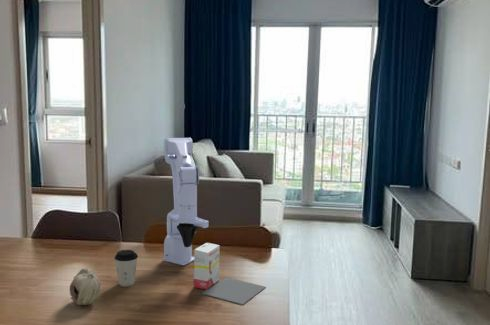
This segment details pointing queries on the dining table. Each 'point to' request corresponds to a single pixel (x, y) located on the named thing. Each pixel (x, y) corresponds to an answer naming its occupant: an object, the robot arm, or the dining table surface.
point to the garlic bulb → (84, 287)
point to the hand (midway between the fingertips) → (187, 246)
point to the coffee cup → (126, 267)
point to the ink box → (206, 265)
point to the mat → (234, 290)
